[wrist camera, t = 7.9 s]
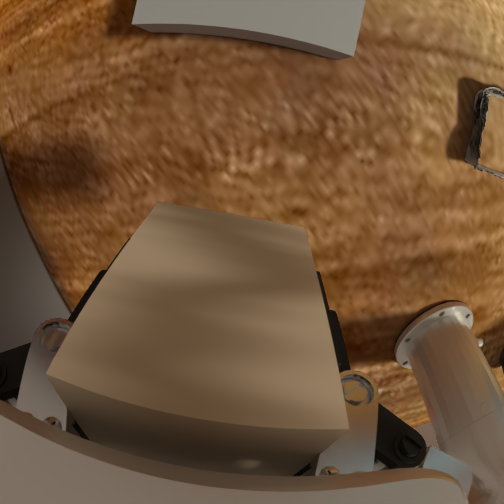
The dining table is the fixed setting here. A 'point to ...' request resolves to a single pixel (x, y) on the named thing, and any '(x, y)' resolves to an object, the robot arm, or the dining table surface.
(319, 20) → the plinth
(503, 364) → the beer stein
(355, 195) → the dining table surface
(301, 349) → the birch block
